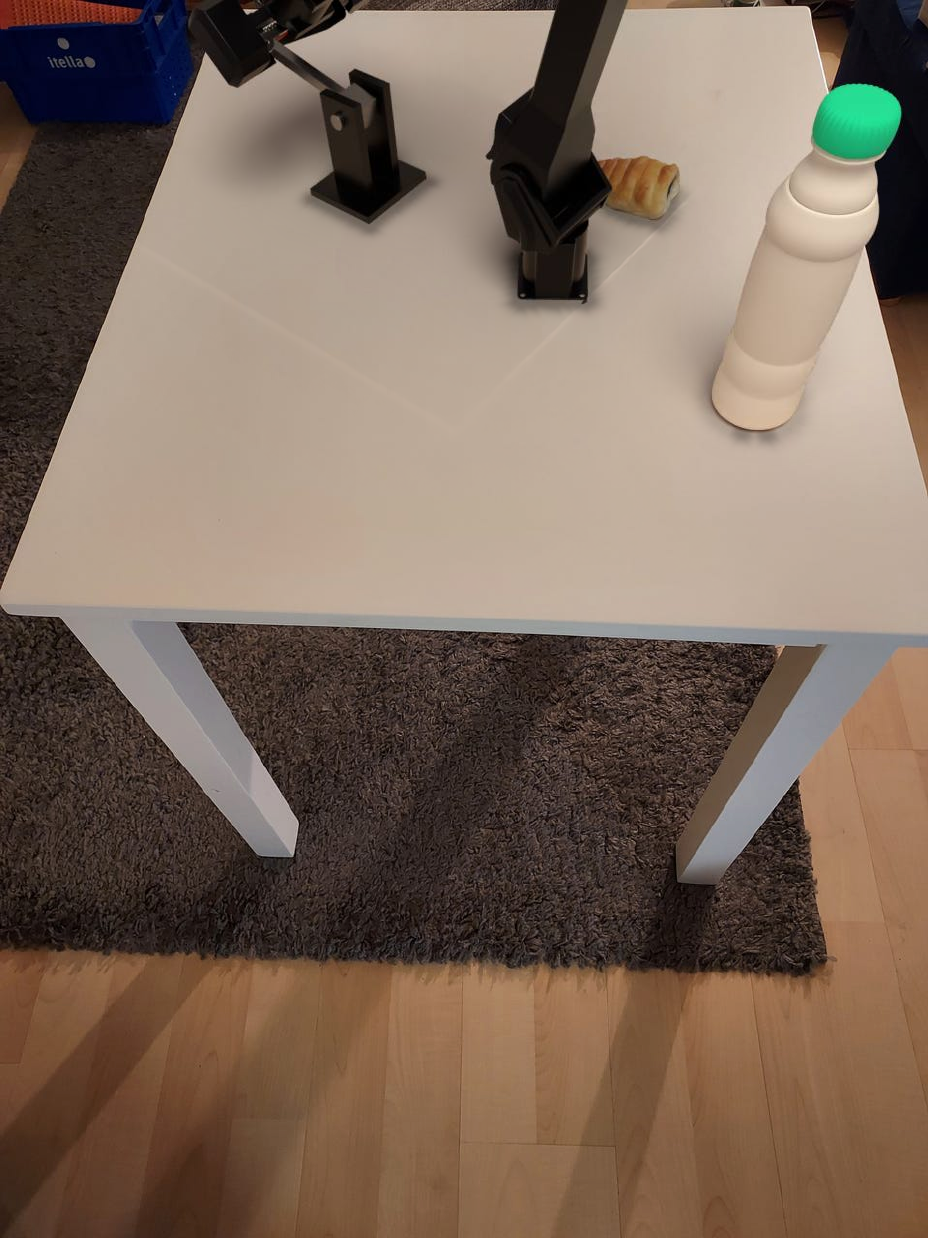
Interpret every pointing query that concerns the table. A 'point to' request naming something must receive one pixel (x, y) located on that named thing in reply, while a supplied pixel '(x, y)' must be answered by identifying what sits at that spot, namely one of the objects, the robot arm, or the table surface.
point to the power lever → (324, 80)
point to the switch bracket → (363, 154)
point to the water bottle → (806, 259)
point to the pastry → (641, 185)
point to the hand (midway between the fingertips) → (258, 53)
